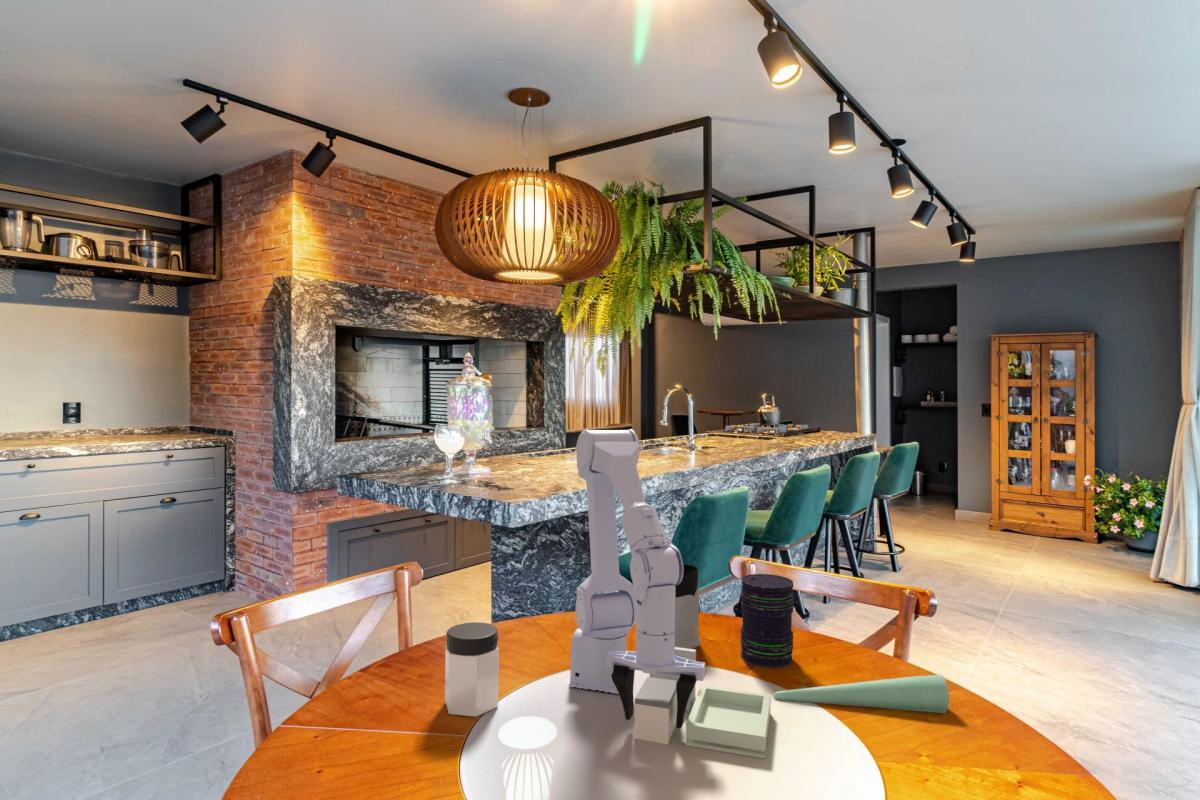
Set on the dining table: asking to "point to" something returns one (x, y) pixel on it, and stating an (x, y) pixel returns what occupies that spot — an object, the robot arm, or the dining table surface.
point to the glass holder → (687, 609)
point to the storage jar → (767, 620)
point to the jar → (471, 669)
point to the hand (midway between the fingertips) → (654, 721)
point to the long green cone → (880, 694)
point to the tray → (729, 721)
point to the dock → (686, 654)
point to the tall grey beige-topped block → (656, 710)
